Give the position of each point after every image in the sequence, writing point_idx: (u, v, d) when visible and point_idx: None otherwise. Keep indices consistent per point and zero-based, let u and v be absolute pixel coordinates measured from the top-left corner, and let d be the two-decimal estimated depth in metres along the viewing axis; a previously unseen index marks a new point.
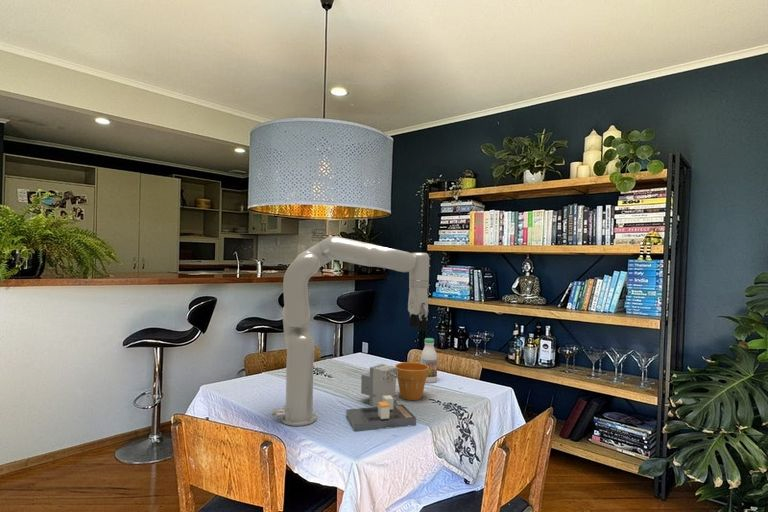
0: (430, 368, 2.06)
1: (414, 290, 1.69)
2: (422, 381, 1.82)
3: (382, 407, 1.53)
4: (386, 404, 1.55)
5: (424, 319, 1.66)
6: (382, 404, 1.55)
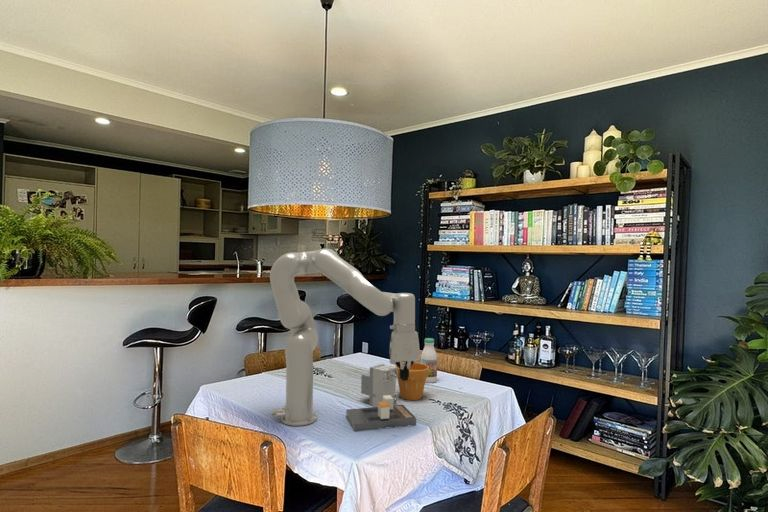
0: (430, 368, 2.06)
1: (412, 335, 1.56)
2: (422, 381, 1.82)
3: (382, 407, 1.53)
4: (386, 404, 1.55)
5: None
6: (382, 404, 1.55)
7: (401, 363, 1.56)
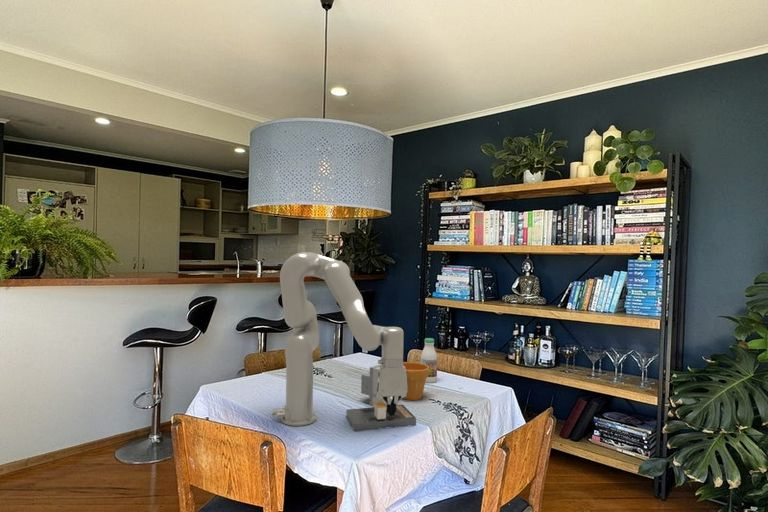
0: (430, 368, 2.06)
1: (400, 370, 1.54)
2: (422, 381, 1.82)
3: (378, 407, 1.53)
4: (382, 404, 1.54)
5: None
6: (379, 404, 1.55)
7: (388, 398, 1.55)
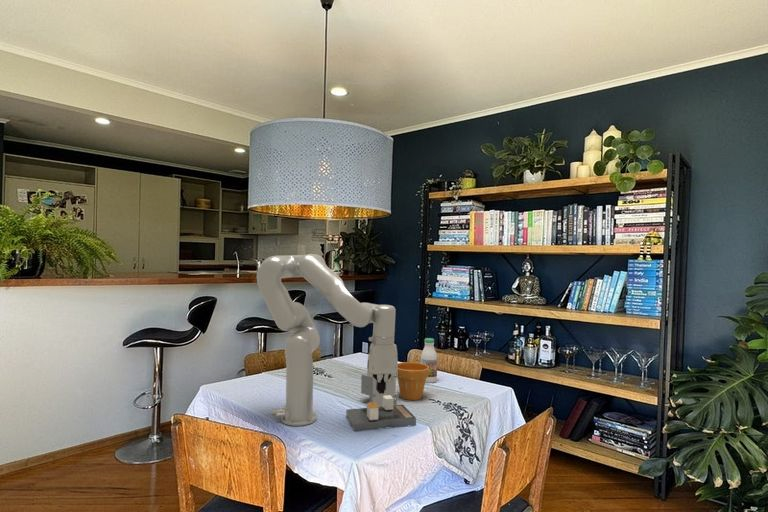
0: (430, 368, 2.06)
1: (391, 347, 1.53)
2: (422, 381, 1.82)
3: (371, 408, 1.52)
4: (375, 405, 1.54)
5: None
6: (371, 404, 1.54)
7: (378, 376, 1.54)
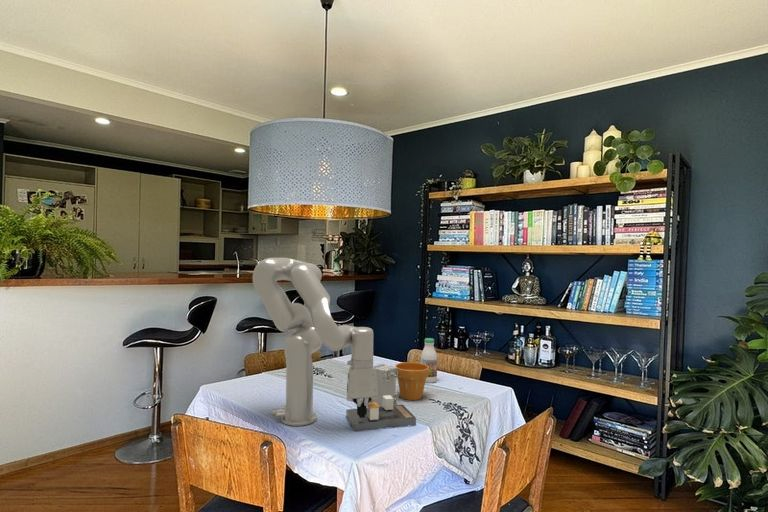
0: (430, 368, 2.06)
1: (370, 371, 1.51)
2: (422, 381, 1.82)
3: (371, 408, 1.52)
4: (375, 405, 1.54)
5: None
6: (371, 404, 1.54)
7: (358, 400, 1.51)
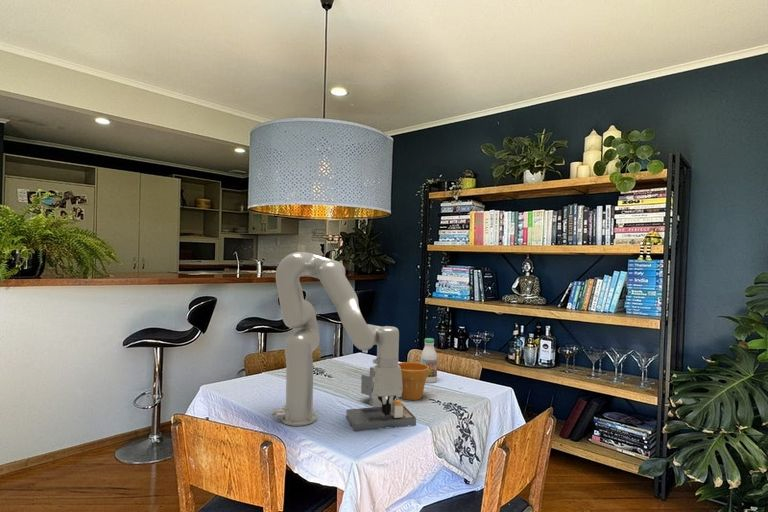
0: (430, 368, 2.06)
1: (395, 369, 1.54)
2: (422, 381, 1.82)
3: (395, 406, 1.55)
4: (399, 403, 1.56)
5: None
6: (395, 402, 1.57)
7: (383, 398, 1.54)
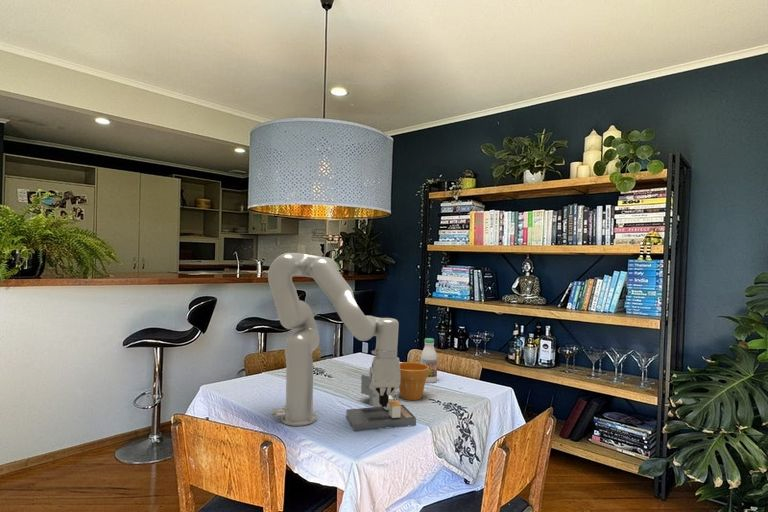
0: (430, 368, 2.06)
1: (394, 361, 1.54)
2: (422, 381, 1.82)
3: (393, 406, 1.54)
4: (397, 403, 1.56)
5: None
6: (393, 403, 1.56)
7: (381, 389, 1.54)
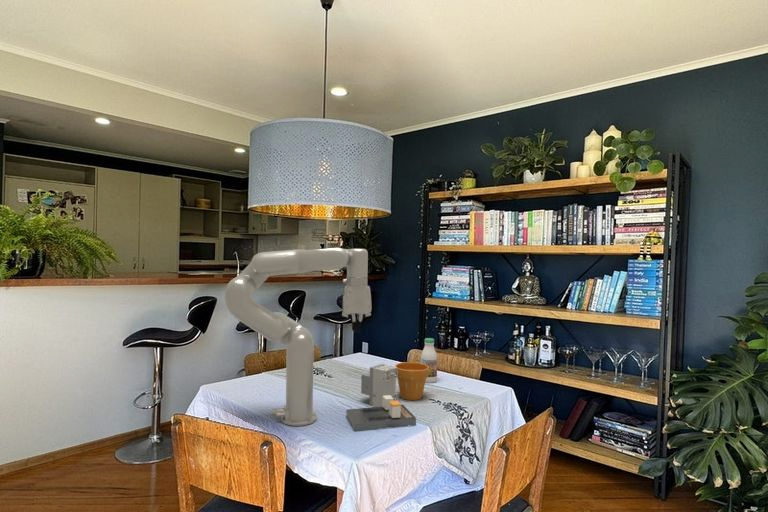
0: (430, 368, 2.06)
1: (364, 288, 1.61)
2: (422, 381, 1.82)
3: (393, 406, 1.54)
4: (397, 403, 1.56)
5: None
6: (393, 403, 1.56)
7: (353, 316, 1.61)
